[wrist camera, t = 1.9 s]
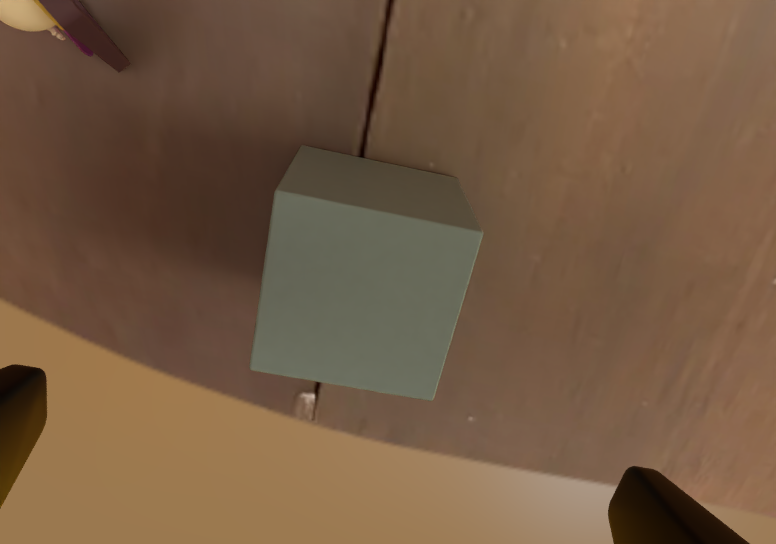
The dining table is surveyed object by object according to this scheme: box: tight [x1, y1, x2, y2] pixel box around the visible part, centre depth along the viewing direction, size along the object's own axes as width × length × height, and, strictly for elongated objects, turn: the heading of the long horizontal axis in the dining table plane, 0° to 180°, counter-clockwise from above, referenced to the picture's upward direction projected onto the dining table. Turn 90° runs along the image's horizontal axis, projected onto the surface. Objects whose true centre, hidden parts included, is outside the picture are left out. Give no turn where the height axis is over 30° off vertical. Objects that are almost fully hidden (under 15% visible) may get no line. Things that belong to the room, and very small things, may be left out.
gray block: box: [249, 145, 483, 401], centre depth 15 cm, size 4×4×4 cm
